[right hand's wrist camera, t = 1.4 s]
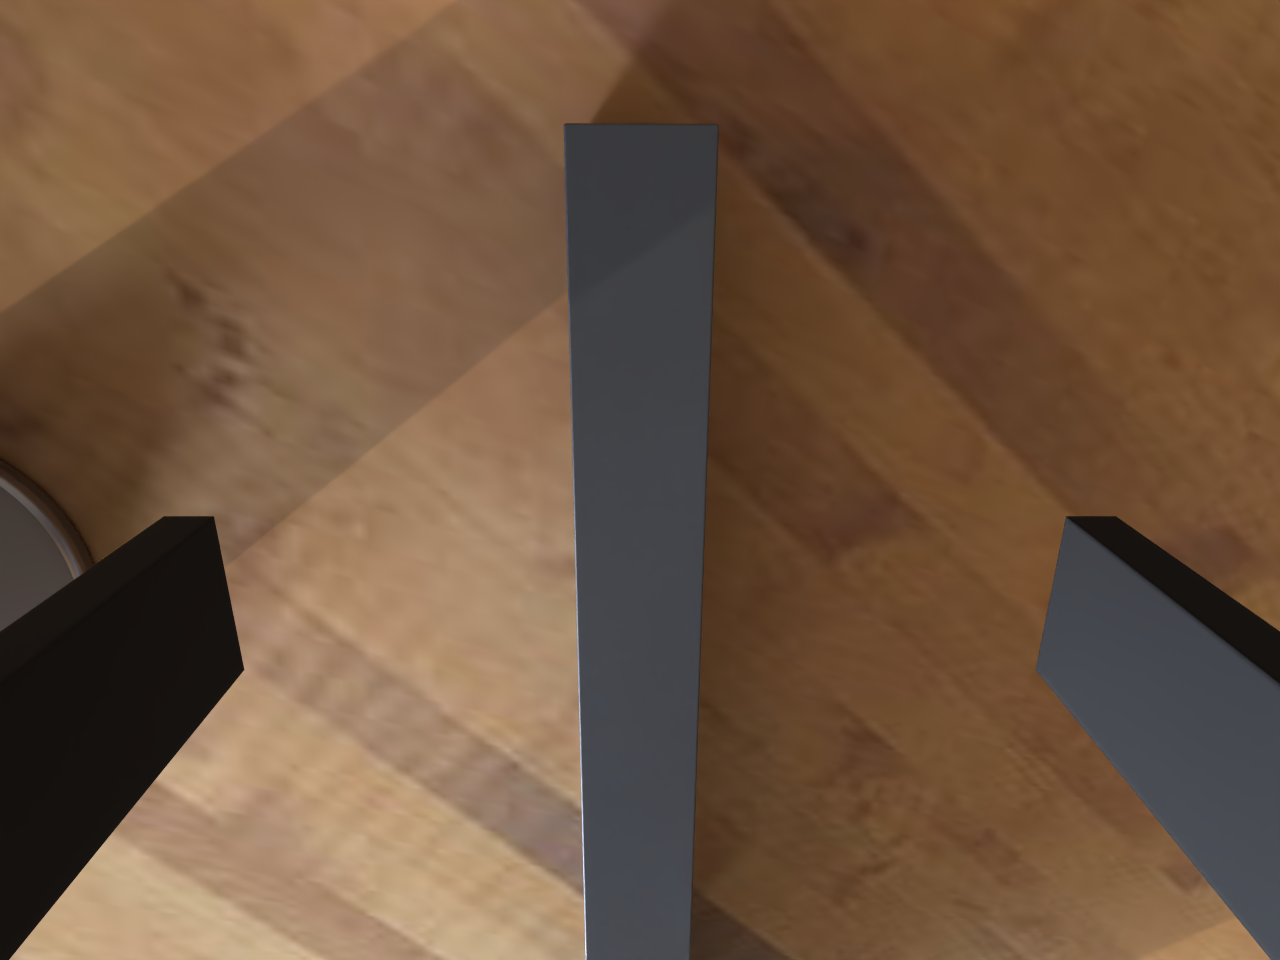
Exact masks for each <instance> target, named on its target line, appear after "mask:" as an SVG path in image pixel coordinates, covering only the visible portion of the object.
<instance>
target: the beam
mask: <svg viewBox="0 0 1280 960" xmlns="http://www.w3.org/2000/svg"><path fill="white" fill-rule="evenodd" d="M718 135H719V126H718V124H580V123H566V124H564V154H565V192H566V230H567V268H568V306H569V344H570V381H571V419H572V457H573V495H574V533H575V571H576V609H577V646H578V684H579V722H580V760H581V798H582V836H583V874H584V912H585V949H586V960H690V943H691V914H692V886H693V857H694V828H695V799H696V770H697V741H698V712H699V684H700V655H701V626H702V597H703V568H704V539H705V510H706V482H707V453H708V424H709V395H710V366H711V337H712V308H713V279H714V251H715V222H716V193H717V164H718Z"/></svg>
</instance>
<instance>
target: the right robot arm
mask: <svg viewBox="0 0 1280 960" xmlns="http://www.w3.org/2000/svg"><path fill="white" fill-rule="evenodd" d="M243 671H244V666H243V661H242V656H241V651H240V646H239V641H238V636H237V631H236V626H235V621H234V616H233V611H232V606H231V601H230V596H229V591H228V586H227V581H226V575H225V570H224V565H223V560H222V555H221V550H220V545H219V540H218V535H217V530H216V525H215V520H214V516H164V517H163V518H161V519H160V520H158V521H157V522H155V523H154V524H153V525H151V526H150V527H148V528H147V529H145V530H144V531H143V532H141V533H140V534H138V535H137V536H136V537H134V538H133V539H131V540H130V541H128V542H127V543H126V544H124V545H123V546H121V547H120V548H118V549H117V550H116V551H114V552H113V553H111V554H110V555H108V556H107V557H106V558H104V559H103V560H101V561H100V562H98V563H97V564H96V565H94V566H93V564H92V561H91V558H90V556H89V554H88V552H87V550H86V548H85V545H84V544H83V542H82V540H81V538H80V537H79V535H78V533H77V531H76V530H75V529H74V527H73V526H72V524H71V523H70V521H69V520H68V518H67V517H66V516H65V515H64V514H63V512H62V511H61V510H60V509H59V507H58V506H57V505H56V504H55V503H54V502H53V501H52V500H51V499H50V498H49V497H48V496H47V495H46V494H45V493H44V492H43V491H42V490H41V489H40V488H38V487H37V486H36V485H35V484H34V483H33V482H32V481H30V480H29V479H28V478H26V477H25V476H24V475H22V474H21V473H20V472H18V471H17V470H15V469H14V468H12V467H11V466H9V465H8V464H6V463H5V462H3V461H1V460H0V960H9V959H10V958H11V957H12V955H13V954H14V953H15V952H16V950H17V949H18V948H19V947H20V946H21V944H22V943H23V942H24V941H25V939H26V938H27V937H28V936H29V934H30V933H31V932H32V931H33V929H34V928H35V927H36V926H37V925H38V923H39V922H40V921H41V920H42V918H43V917H44V916H45V915H46V913H47V912H48V911H49V910H50V909H51V907H52V906H53V905H54V904H55V902H56V901H57V900H58V899H59V897H60V896H61V895H62V894H63V893H64V891H65V890H66V889H67V888H68V886H69V885H70V884H71V883H72V881H73V880H74V879H75V878H76V877H77V875H78V874H79V873H80V872H81V870H82V869H83V868H84V867H85V865H86V864H87V863H88V862H89V860H90V859H91V858H92V857H93V856H94V854H95V853H96V852H97V851H98V849H99V848H100V847H101V846H102V844H103V843H104V842H105V841H106V840H107V838H108V837H109V836H110V835H111V833H112V832H113V831H114V830H115V828H116V827H117V826H118V825H119V824H120V822H121V821H122V820H123V819H124V817H125V816H126V815H127V814H128V812H129V811H130V810H131V809H132V807H133V806H134V805H135V804H136V803H137V801H138V800H139V799H140V798H141V796H142V795H143V794H144V793H145V791H146V790H147V789H148V788H149V787H150V785H151V784H152V783H153V782H154V780H155V779H156V778H157V777H158V775H159V774H160V773H161V772H162V771H163V769H164V768H165V767H166V766H167V764H168V763H169V762H170V761H171V759H172V758H173V757H174V756H175V755H176V753H177V752H178V751H179V750H180V748H181V747H182V746H183V745H184V743H185V742H186V741H187V740H188V738H189V737H190V736H191V735H192V734H193V732H194V731H195V730H196V729H197V727H198V726H199V725H200V724H201V722H202V721H203V720H204V719H205V718H206V716H207V715H208V714H209V713H210V711H211V710H212V709H213V708H214V706H215V705H216V704H217V703H218V702H219V700H220V699H221V698H222V697H223V695H224V694H225V693H226V692H227V690H228V689H229V688H230V687H231V685H232V684H233V683H234V682H235V681H236V679H237V678H238V677H239V676H240V674H241V673H242V672H243ZM1036 671H1037V672H1038V673H1039V674H1040V676H1041V677H1042V678H1043V679H1044V681H1045V682H1046V683H1047V684H1048V685H1049V687H1050V688H1051V689H1052V690H1053V692H1054V693H1055V694H1056V695H1057V697H1058V698H1059V699H1060V700H1061V702H1062V703H1063V704H1064V705H1065V706H1066V708H1067V709H1068V710H1069V711H1070V713H1071V714H1072V715H1073V716H1074V718H1075V719H1076V720H1077V721H1078V722H1079V724H1080V725H1081V726H1082V727H1083V729H1084V730H1085V731H1086V732H1087V734H1088V735H1089V736H1090V737H1091V738H1092V740H1093V741H1094V742H1095V743H1096V745H1097V746H1098V747H1099V748H1100V750H1101V751H1102V752H1103V753H1104V755H1105V756H1106V757H1107V758H1108V759H1109V761H1110V762H1111V763H1112V764H1113V766H1114V767H1115V768H1116V769H1117V771H1118V772H1119V773H1120V774H1121V775H1122V777H1123V778H1124V779H1125V780H1126V782H1127V783H1128V784H1129V785H1130V787H1131V788H1132V789H1133V790H1134V791H1135V793H1136V794H1137V795H1138V796H1139V798H1140V799H1141V800H1142V801H1143V803H1144V804H1145V805H1146V806H1147V807H1148V809H1149V810H1150V811H1151V812H1152V814H1153V815H1154V816H1155V817H1156V819H1157V820H1158V821H1159V822H1160V824H1161V825H1162V826H1163V827H1164V828H1165V830H1166V831H1167V832H1168V833H1169V835H1170V836H1171V837H1172V838H1173V840H1174V841H1175V842H1176V843H1177V844H1178V846H1179V847H1180V848H1181V849H1182V851H1183V852H1184V853H1185V854H1186V856H1187V857H1188V858H1189V859H1190V860H1191V862H1192V863H1193V864H1194V865H1195V867H1196V868H1197V869H1198V870H1199V872H1200V873H1201V874H1202V875H1203V877H1204V878H1205V879H1206V880H1207V881H1208V883H1209V884H1210V885H1211V886H1212V888H1213V889H1214V890H1215V891H1216V893H1217V894H1218V895H1219V896H1220V897H1221V899H1222V900H1223V901H1224V902H1225V904H1226V905H1227V906H1228V907H1229V909H1230V910H1231V911H1232V912H1233V913H1234V915H1235V916H1236V917H1237V918H1238V920H1239V921H1240V922H1241V923H1242V925H1243V926H1244V927H1245V928H1246V929H1247V931H1248V932H1249V933H1250V934H1251V936H1252V937H1253V938H1254V939H1255V941H1256V942H1257V943H1258V944H1259V946H1260V947H1261V948H1262V949H1263V950H1264V952H1265V953H1266V954H1267V955H1268V957H1269V958H1270V959H1271V960H1280V631H1278V630H1277V629H1275V628H1274V627H1273V626H1271V625H1270V624H1268V623H1267V622H1265V621H1264V620H1263V619H1261V618H1260V617H1258V616H1257V615H1256V614H1254V613H1253V612H1251V611H1250V610H1248V609H1247V608H1246V607H1244V606H1243V605H1241V604H1240V603H1238V602H1237V601H1236V600H1234V599H1233V598H1231V597H1230V596H1228V595H1227V594H1226V593H1224V592H1223V591H1221V590H1220V589H1219V588H1217V587H1216V586H1214V585H1213V584H1211V583H1210V582H1209V581H1207V580H1206V579H1204V578H1203V577H1201V576H1200V575H1199V574H1197V573H1196V572H1194V571H1193V570H1191V569H1190V568H1189V567H1187V566H1186V565H1184V564H1183V563H1182V562H1180V561H1179V560H1177V559H1176V558H1174V557H1173V556H1172V555H1170V554H1169V553H1167V552H1166V551H1164V550H1163V549H1162V548H1160V547H1159V546H1157V545H1156V544H1154V543H1153V542H1152V541H1150V540H1149V539H1147V538H1146V537H1144V536H1143V535H1142V534H1140V533H1139V532H1137V531H1136V530H1135V529H1133V528H1132V527H1130V526H1129V525H1127V524H1126V523H1125V522H1123V521H1122V520H1120V519H1119V518H1117V517H1116V516H1066V520H1065V525H1064V530H1063V535H1062V540H1061V545H1060V550H1059V555H1058V560H1057V565H1056V570H1055V575H1054V581H1053V586H1052V591H1051V596H1050V601H1049V606H1048V611H1047V616H1046V621H1045V626H1044V631H1043V636H1042V641H1041V646H1040V651H1039V656H1038V661H1037V666H1036Z"/></svg>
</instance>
